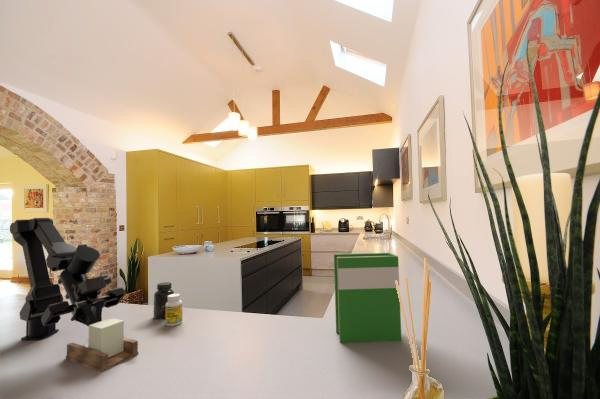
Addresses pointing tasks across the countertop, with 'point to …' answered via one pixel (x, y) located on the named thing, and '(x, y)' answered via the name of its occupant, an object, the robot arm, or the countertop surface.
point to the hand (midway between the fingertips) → (99, 329)
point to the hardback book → (367, 297)
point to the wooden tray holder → (101, 355)
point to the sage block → (107, 336)
